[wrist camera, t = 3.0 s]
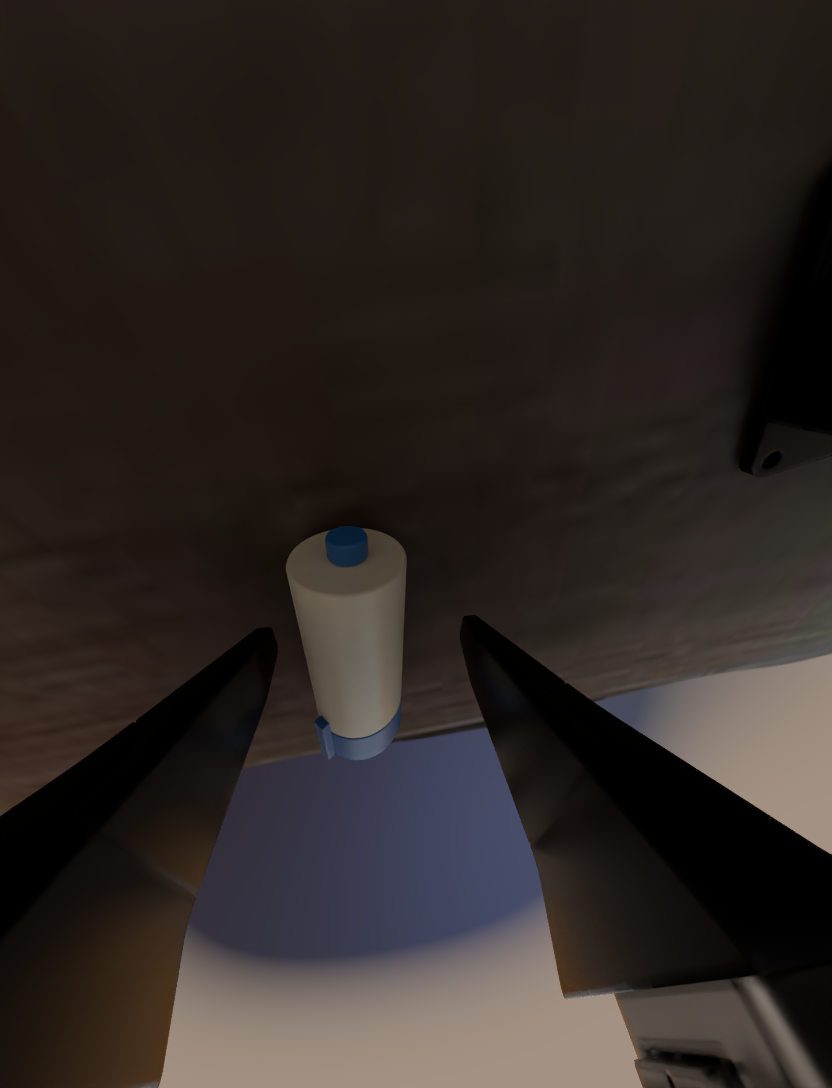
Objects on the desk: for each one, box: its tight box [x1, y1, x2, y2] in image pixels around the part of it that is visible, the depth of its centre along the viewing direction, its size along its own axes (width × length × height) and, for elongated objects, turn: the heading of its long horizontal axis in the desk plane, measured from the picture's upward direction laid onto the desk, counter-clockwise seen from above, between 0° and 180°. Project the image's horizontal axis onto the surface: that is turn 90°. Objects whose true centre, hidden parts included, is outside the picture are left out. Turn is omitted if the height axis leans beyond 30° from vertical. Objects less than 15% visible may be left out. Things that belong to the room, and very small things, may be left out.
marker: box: [286, 526, 407, 760], centre depth 9 cm, size 8×3×3 cm
